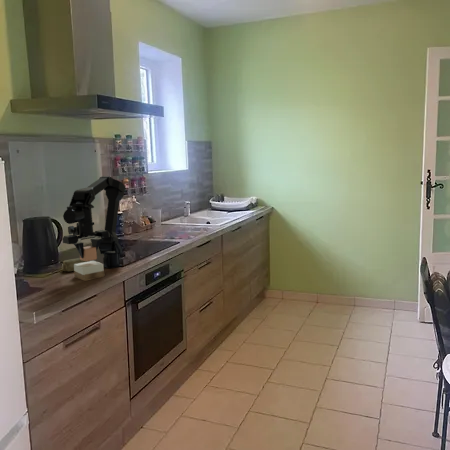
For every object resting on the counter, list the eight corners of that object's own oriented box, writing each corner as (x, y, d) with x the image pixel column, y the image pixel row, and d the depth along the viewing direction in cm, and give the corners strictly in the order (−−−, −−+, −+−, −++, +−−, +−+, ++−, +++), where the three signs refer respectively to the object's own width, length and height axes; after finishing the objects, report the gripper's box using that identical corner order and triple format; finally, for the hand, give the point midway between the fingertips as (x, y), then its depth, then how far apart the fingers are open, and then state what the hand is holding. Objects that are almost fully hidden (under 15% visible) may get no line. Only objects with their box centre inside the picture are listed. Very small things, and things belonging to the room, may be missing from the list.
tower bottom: (93, 274, 202) (93, 267, 201) (104, 277, 196) (104, 270, 195) (74, 278, 196) (74, 271, 195) (85, 282, 189) (84, 274, 189)
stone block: (91, 268, 210) (90, 258, 210) (65, 273, 204) (64, 262, 203) (86, 266, 215) (85, 256, 214) (61, 271, 208) (60, 260, 208)
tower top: (94, 267, 201) (93, 260, 201) (103, 270, 195) (103, 263, 194) (74, 271, 196) (73, 264, 195) (83, 274, 189) (82, 267, 188)
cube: (90, 257, 198) (89, 246, 197) (96, 259, 194) (95, 247, 194) (80, 259, 194) (79, 248, 194) (86, 261, 191) (85, 249, 190)
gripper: (95, 216, 204) (98, 250, 206) (54, 221, 191) (58, 258, 193) (108, 217, 196) (111, 253, 199) (67, 223, 183) (71, 262, 186)
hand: (88, 257), depth 194 cm, fingers closed on cube, 5 cm apart
